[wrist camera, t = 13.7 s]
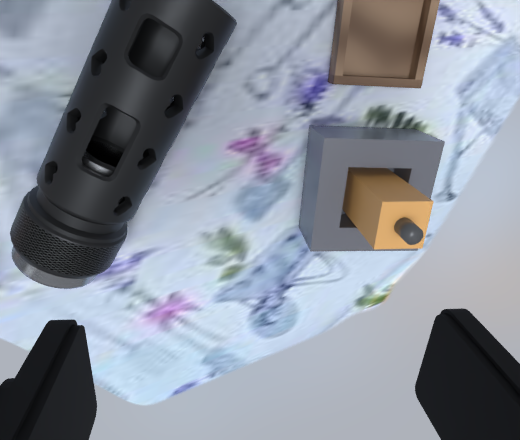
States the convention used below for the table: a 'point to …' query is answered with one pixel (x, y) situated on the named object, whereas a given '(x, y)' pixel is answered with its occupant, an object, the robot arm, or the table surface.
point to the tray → (382, 42)
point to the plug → (386, 208)
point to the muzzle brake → (115, 135)
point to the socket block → (358, 155)
